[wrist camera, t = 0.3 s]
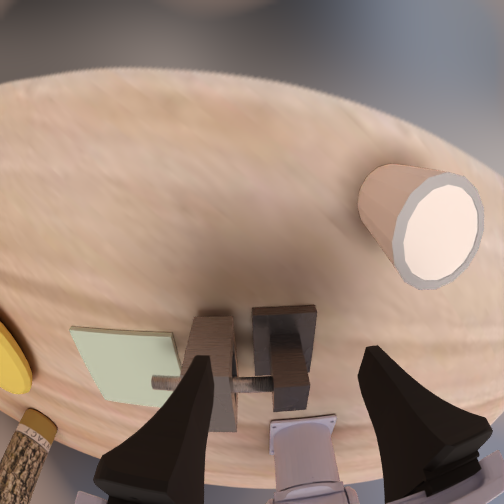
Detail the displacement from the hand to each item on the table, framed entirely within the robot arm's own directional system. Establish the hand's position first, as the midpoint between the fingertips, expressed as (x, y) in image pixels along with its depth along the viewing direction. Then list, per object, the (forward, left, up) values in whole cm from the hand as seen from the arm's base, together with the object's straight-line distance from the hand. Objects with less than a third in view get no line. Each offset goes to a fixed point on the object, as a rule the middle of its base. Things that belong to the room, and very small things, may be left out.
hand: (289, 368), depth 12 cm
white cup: (+5, -9, -10) cm, 14 cm away
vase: (-10, +36, -10) cm, 39 cm away
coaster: (-11, +14, -10) cm, 21 cm away
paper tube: (-29, +40, -10) cm, 50 cm away
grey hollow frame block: (-7, +5, -10) cm, 13 cm away
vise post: (-7, +3, -10) cm, 12 cm away
